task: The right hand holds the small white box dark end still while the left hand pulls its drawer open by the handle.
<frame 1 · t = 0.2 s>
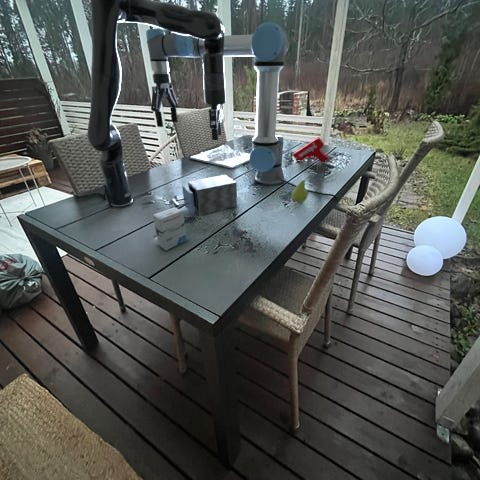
left hand: (216, 137, 103), 29 cm above the table, tool pointing down, fingers open, 8 cm apart
right hand: (167, 124, 132), 28 cm above the table, tool pointing down, fingers open, 13 cm apart
relief map: (224, 158, 180), on the table
white box dark end: (213, 206, 119), on the table
drawer: (198, 197, 113), point 6 cm above the table, slide at 1.7 cm
toy gun: (309, 162, 171), on the table
ink box: (172, 243, 94), on the table
fruit: (299, 202, 122), on the table
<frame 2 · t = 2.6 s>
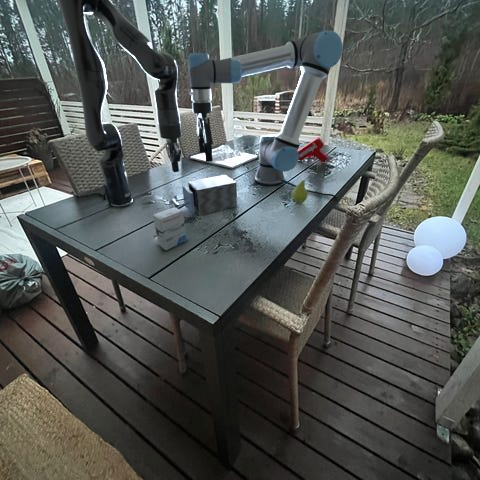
left hand: (175, 171, 103), 18 cm above the table, tool pointing down, fingers closed
right hand: (205, 156, 116), 19 cm above the table, tool pointing down, fingers open, 13 cm apart
nothing on the table moved.
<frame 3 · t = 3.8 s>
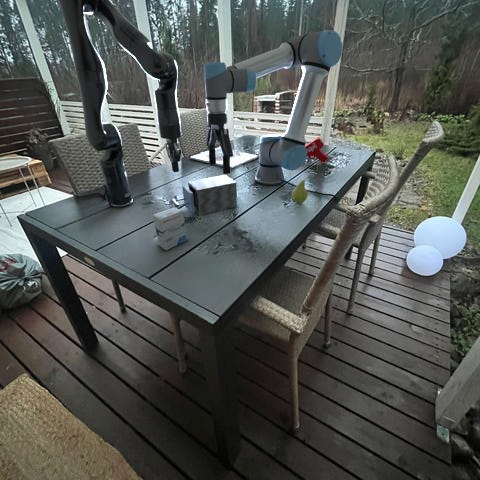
left hand: (175, 171, 103), 18 cm above the table, tool pointing down, fingers closed
right hand: (219, 168, 111), 16 cm above the table, tool pointing down, fingers open, 13 cm apart
nothing on the table moved.
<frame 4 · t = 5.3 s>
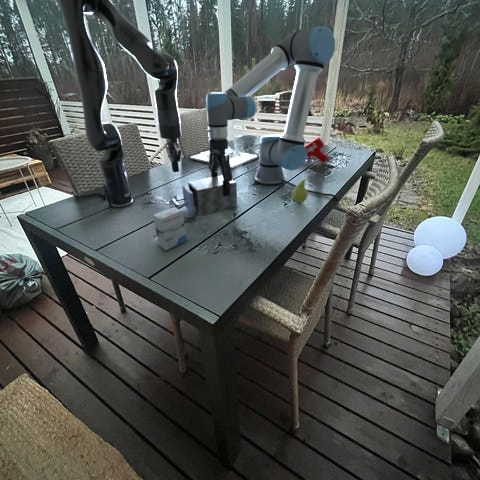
left hand: (175, 171, 103), 18 cm above the table, tool pointing down, fingers closed
right hand: (220, 191, 117), 6 cm above the table, tool pointing down, fingers closed on white box dark end, 11 cm apart
white box dark end: (213, 206, 119), on the table, touching right hand
everything else where it was.
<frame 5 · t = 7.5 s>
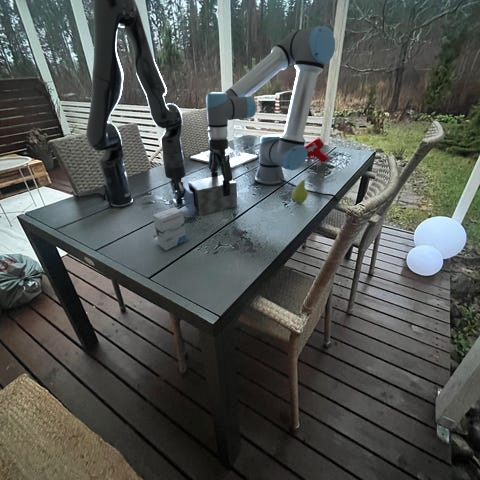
left hand: (180, 205, 111), 4 cm above the table, tool pointing down, fingers closed
right hand: (220, 191, 117), 6 cm above the table, tool pointing down, fingers closed on white box dark end, 11 cm apart
white box dark end: (213, 206, 119), on the table, touching right hand
drawer: (199, 197, 113), point 6 cm above the table, slide at 1.7 cm, touching left hand
everything else where it was.
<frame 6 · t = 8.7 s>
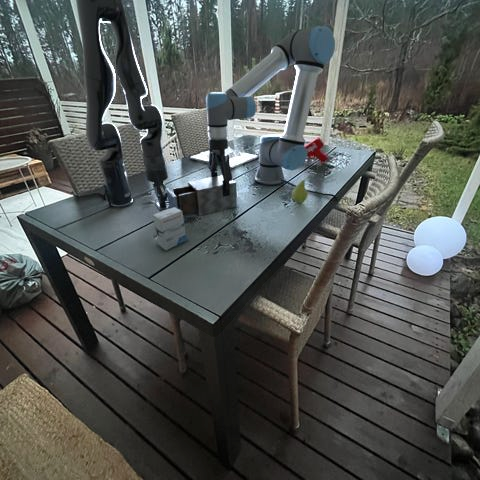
left hand: (163, 209, 108), 4 cm above the table, tool pointing down, fingers closed
right hand: (220, 191, 117), 6 cm above the table, tool pointing down, fingers closed on white box dark end, 11 cm apart
white box dark end: (213, 206, 118), on the table, touching right hand
drawer: (183, 200, 110), point 6 cm above the table, slide at 8.3 cm, touching left hand
everything else where it was.
when the right hand's fingers open (6 cm above the table, at t = 10.6 s): white box dark end stays where it is, on the table.
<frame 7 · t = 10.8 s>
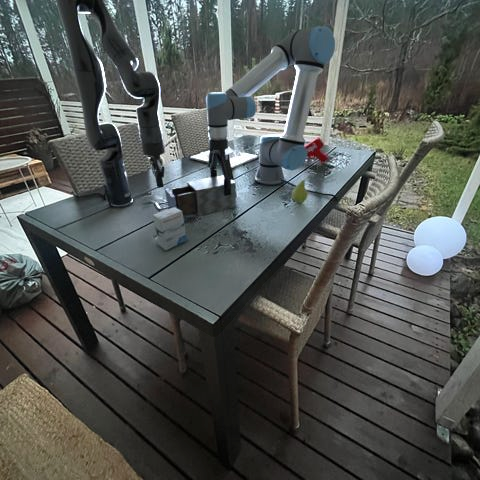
left hand: (160, 186, 103), 13 cm above the table, tool pointing down, fingers closed
right hand: (220, 189, 116), 7 cm above the table, tool pointing down, fingers open, 13 cm apart
white box dark end: (212, 206, 118), on the table
drawer: (182, 200, 110), point 6 cm above the table, slide at 8.4 cm
everything else where it was.
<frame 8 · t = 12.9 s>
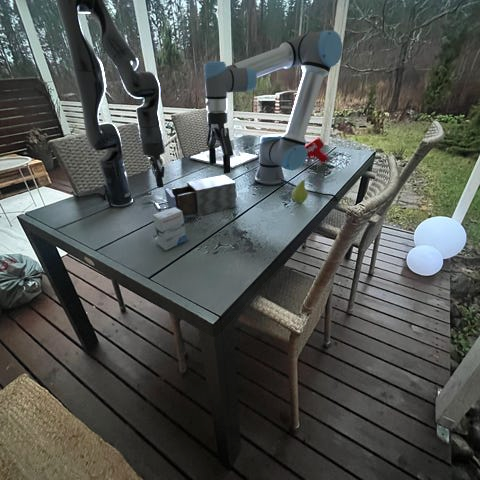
left hand: (160, 186, 103), 13 cm above the table, tool pointing down, fingers closed
right hand: (219, 168, 111), 16 cm above the table, tool pointing down, fingers open, 13 cm apart
nothing on the table moved.
at the end: drawer slide at 8.4 cm; white box dark end tilted 0°; white box dark end never tilted more than 2° during the clip; white box dark end moved 0.5 cm from its start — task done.
